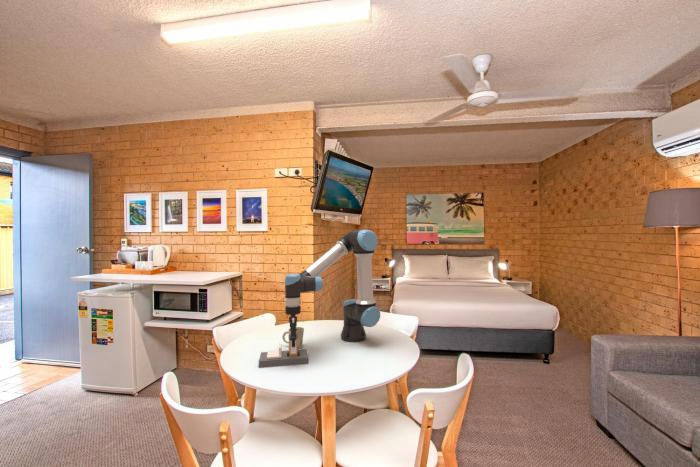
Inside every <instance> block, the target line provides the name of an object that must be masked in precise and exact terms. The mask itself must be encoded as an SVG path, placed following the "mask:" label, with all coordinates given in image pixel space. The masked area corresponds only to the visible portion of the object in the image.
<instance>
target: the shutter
mask: <svg viewBox="0 0 700 467" xmlns="http://www.w3.org/2000/svg"><path fill="white" fill-rule="evenodd" d="M282 346H283V344H282V343H279V345H278V350H276V349H275V350H267V352H268V353H267V359H274V358H281V356H282V351H283V348H282Z"/></svg>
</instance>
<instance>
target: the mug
mask: <svg viewBox="0 0 700 467" xmlns="http://www.w3.org/2000/svg"><path fill="white" fill-rule="evenodd" d="M296 328H297V331H296V334H297V335H298V339H297V350H300V349H302V347H303V342H304V341H303V340H304V333H305V328H304V327H300V326H296ZM290 329H291V328H290V327H289V329H288V330H287V331H284V333H283V334H282V340H283V342H284V343H286V344H288V345H289V341H287V340H286V338H285V336H286V335H287V334H288V335H289V334H290Z"/></svg>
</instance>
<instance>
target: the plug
mask: <svg viewBox="0 0 700 467" xmlns="http://www.w3.org/2000/svg"><path fill="white" fill-rule="evenodd" d="M290 338H291V334H288V342H289V344H288V350H289V357H291V356H298V355H297V350H298V349H297V339H298V335H297V334H296V353H295V354H291V340H289V339H290Z"/></svg>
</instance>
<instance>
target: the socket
mask: <svg viewBox="0 0 700 467" xmlns="http://www.w3.org/2000/svg"><path fill="white" fill-rule="evenodd" d="M267 353H268V351H261V352H260V356H259V359H258V368H259V369H260V368H273V367H283V366H284V367H286V366H297V365H306V364H309V353H308V349H307V348H299V349H297V355H298V356H291V357H289V349H288V350H287V349H286V350H282V356H281V358H274V359H267Z"/></svg>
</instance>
